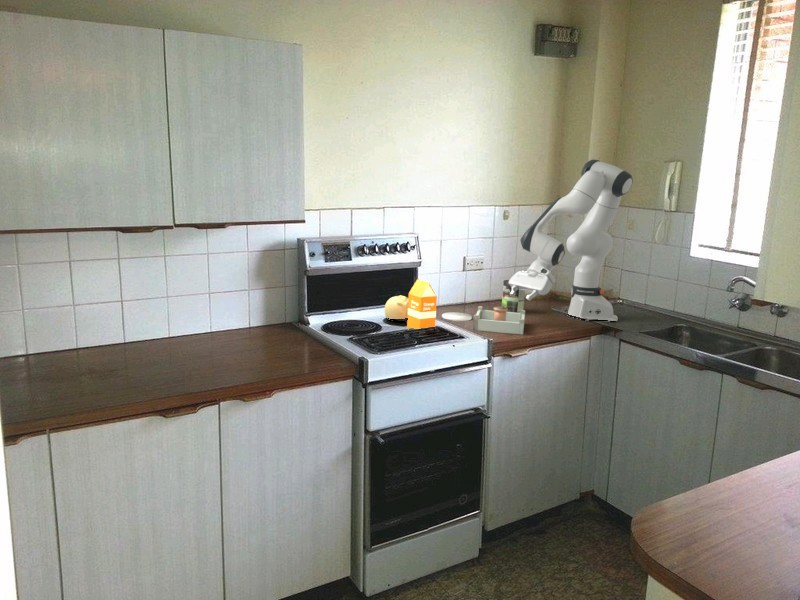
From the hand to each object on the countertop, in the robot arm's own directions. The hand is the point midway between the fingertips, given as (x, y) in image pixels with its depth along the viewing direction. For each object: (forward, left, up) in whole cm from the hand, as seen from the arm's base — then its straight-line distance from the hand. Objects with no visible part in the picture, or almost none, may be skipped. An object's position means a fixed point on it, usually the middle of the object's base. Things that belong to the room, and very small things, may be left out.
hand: (519, 297), depth 284 cm
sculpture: (+49, +11, -12) cm, 52 cm away
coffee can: (+3, -28, -12) cm, 31 cm away
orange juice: (+37, +25, -12) cm, 46 cm away
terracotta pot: (+7, +6, -12) cm, 15 cm away
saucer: (+26, -4, -12) cm, 29 cm away
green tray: (+7, +6, -12) cm, 15 cm away
